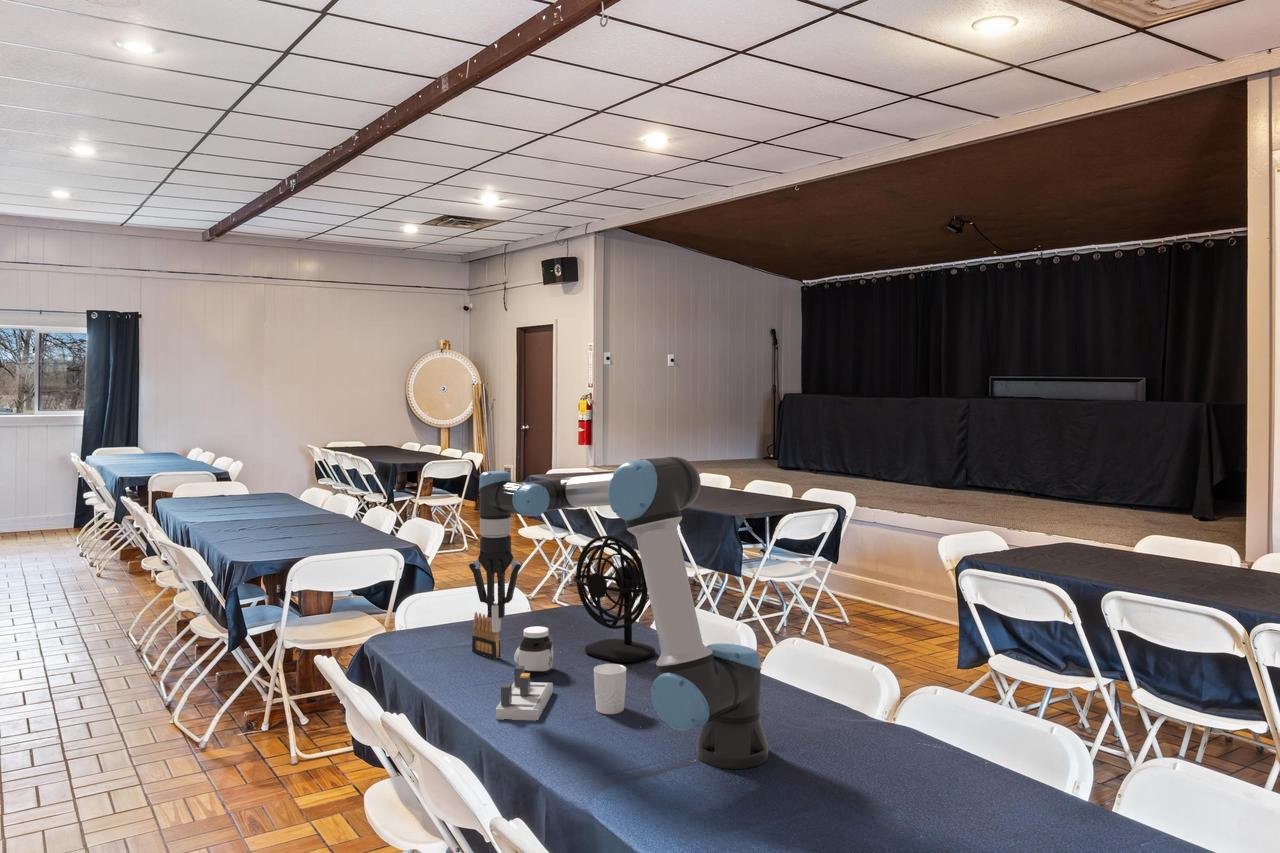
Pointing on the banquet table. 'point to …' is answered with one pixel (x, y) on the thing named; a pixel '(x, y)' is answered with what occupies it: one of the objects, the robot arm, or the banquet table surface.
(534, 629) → the spread jar
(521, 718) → the breaker panel
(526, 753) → the banquet table surface
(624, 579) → the desk fan
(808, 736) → the banquet table surface
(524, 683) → the handle
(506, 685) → the handle
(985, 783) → the banquet table surface
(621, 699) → the white cup
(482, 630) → the ammunition clip
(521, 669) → the handle
